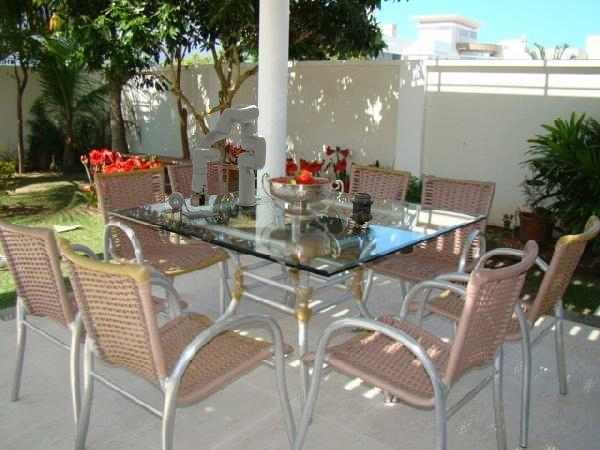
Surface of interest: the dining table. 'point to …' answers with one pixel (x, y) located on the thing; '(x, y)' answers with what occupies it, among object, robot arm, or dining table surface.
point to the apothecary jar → (361, 208)
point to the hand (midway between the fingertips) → (199, 204)
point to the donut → (172, 202)
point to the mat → (199, 214)
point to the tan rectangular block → (195, 200)
